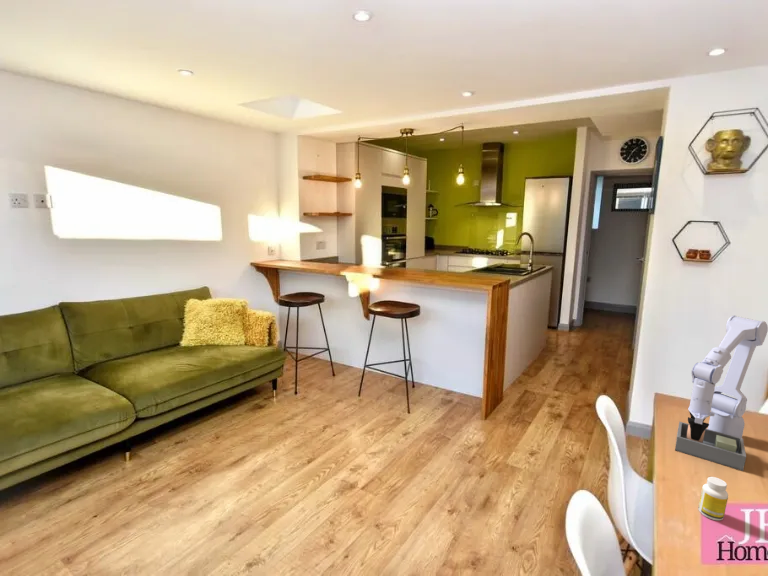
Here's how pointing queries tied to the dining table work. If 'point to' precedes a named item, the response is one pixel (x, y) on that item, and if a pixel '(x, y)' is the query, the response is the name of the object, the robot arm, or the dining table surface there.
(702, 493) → the supplement bottle
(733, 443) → the green block
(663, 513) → the dining table surface
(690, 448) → the tote
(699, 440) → the terracotta cylinder
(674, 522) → the dining table surface
